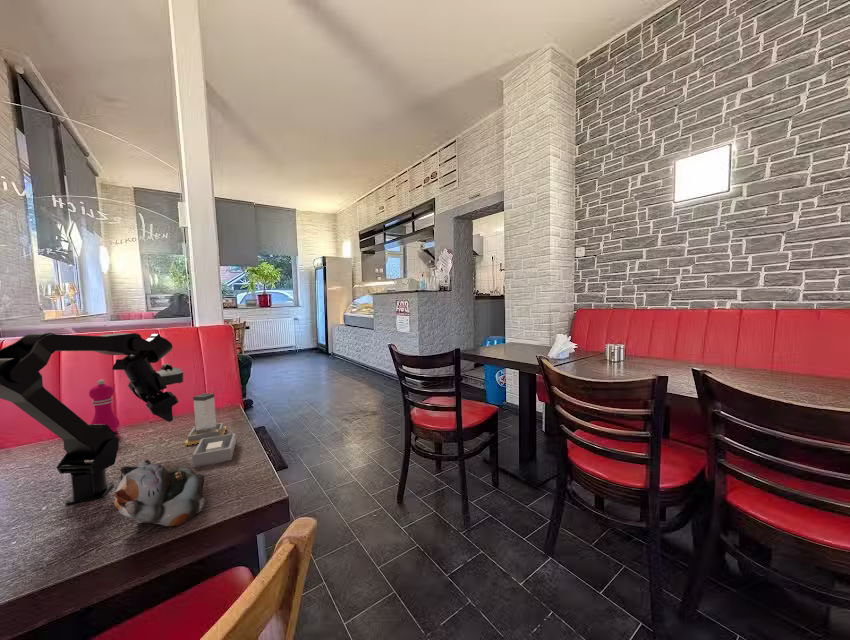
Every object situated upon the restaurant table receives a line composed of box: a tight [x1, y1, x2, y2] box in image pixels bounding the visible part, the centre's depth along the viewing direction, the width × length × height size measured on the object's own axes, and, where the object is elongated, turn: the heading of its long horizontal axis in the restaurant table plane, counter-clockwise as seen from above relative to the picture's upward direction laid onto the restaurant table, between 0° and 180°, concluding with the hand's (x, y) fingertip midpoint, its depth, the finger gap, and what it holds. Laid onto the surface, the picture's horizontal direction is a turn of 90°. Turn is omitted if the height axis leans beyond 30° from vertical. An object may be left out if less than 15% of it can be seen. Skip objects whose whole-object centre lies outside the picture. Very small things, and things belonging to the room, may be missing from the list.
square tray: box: [184, 422, 227, 447], centre depth 111 cm, size 10×10×3 cm
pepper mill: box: [88, 379, 121, 438], centre depth 112 cm, size 7×7×20 cm
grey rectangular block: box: [192, 392, 217, 435], centre depth 111 cm, size 4×4×13 cm
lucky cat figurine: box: [113, 459, 205, 527], centre depth 69 cm, size 15×12×14 cm
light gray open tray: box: [192, 432, 237, 468], centre depth 98 cm, size 12×9×4 cm
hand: (164, 414), depth 101 cm, fingers open, 9 cm apart
